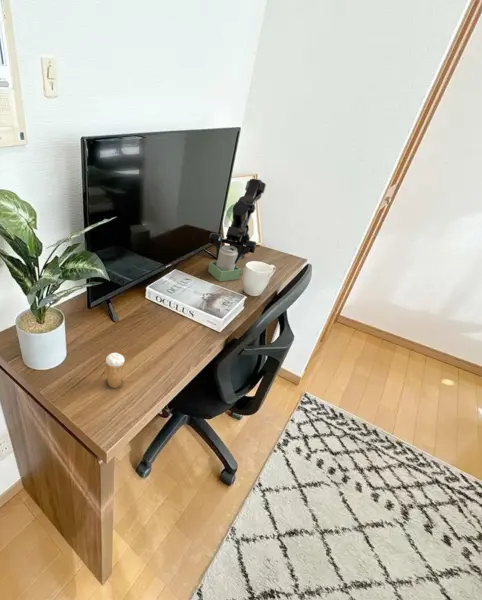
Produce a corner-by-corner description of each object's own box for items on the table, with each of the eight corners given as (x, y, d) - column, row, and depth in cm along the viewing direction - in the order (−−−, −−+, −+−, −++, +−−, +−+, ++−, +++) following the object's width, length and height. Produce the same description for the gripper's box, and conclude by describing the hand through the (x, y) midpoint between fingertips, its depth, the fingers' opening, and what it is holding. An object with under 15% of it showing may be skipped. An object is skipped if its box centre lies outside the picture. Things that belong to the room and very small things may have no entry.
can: (235, 277, 134) (242, 250, 127) (220, 278, 132) (226, 252, 125) (226, 269, 140) (232, 243, 133) (211, 270, 138) (216, 244, 131)
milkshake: (119, 394, 79) (121, 364, 73) (101, 384, 81) (102, 355, 76) (129, 382, 82) (131, 353, 77) (111, 374, 84) (112, 345, 79)
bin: (226, 269, 141) (228, 259, 139) (238, 279, 134) (241, 269, 131) (207, 271, 138) (209, 261, 136) (219, 281, 131) (221, 271, 129)
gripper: (214, 213, 130) (202, 247, 127) (262, 222, 123) (250, 259, 120) (215, 226, 140) (204, 258, 137) (259, 235, 133) (248, 269, 131)
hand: (225, 261), depth 131 cm, fingers closed on can, 7 cm apart
